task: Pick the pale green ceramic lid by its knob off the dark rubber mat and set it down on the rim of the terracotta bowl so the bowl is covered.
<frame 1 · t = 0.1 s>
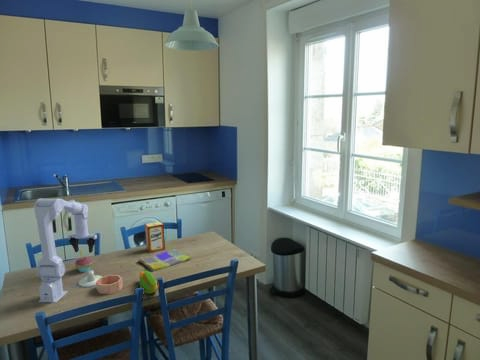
hand: (83, 251, 185), 10 cm above the table, fingers open, 7 cm apart
baking soda box: (155, 249, 215), on the table
lid: (91, 281, 173), resting on mat
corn: (147, 288, 167), on the table
bowl: (110, 288, 166), on the table
cupcake: (84, 271, 187), on the table
mat: (91, 282, 173), on the table
dish towel: (164, 262, 198), on the table
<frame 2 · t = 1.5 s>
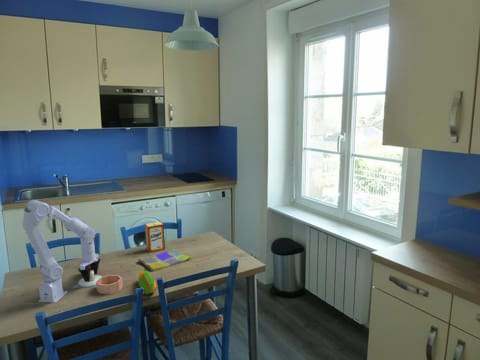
hand: (90, 277, 173), 3 cm above the table, fingers open, 7 cm apart
cupcake: (86, 263, 183), point 5 cm above the table, touching gripper
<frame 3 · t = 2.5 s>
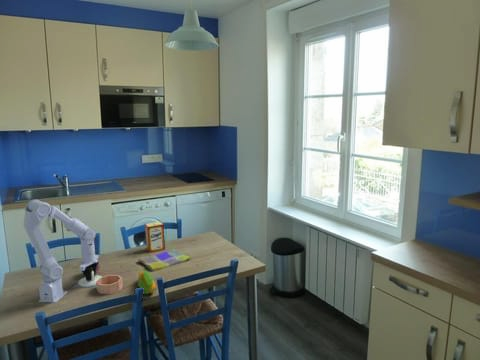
hand: (90, 278, 173), 2 cm above the table, fingers closed on lid, 3 cm apart
lid: (91, 281, 173), resting on mat, touching gripper
everything else where it was.
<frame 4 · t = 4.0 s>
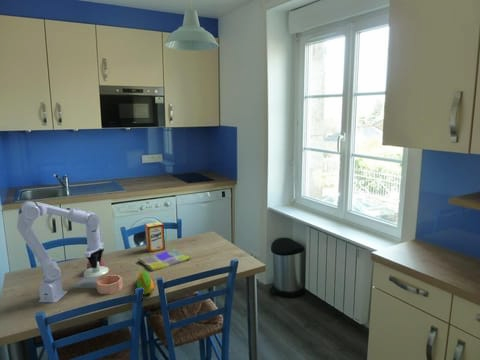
hand: (96, 265, 169), 9 cm above the table, fingers closed on lid, 3 cm apart
lid: (96, 272, 170), point 6 cm above the table, touching gripper
cupcake: (92, 265, 187), point 2 cm above the table
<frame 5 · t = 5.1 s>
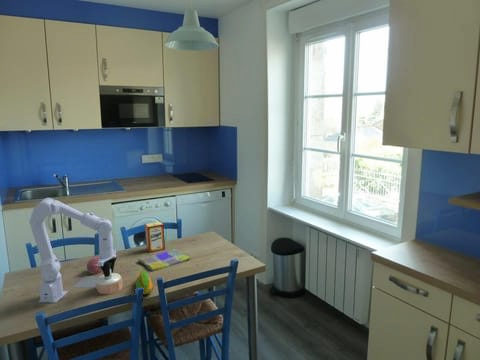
hand: (108, 274, 165), 7 cm above the table, fingers closed on lid, 3 cm apart
lid: (108, 279, 166), point 4 cm above the table, touching bowl, gripper
when the fingers open (7 cm above the table, at t = 5.7 s): lid stays where it is, resting on bowl.
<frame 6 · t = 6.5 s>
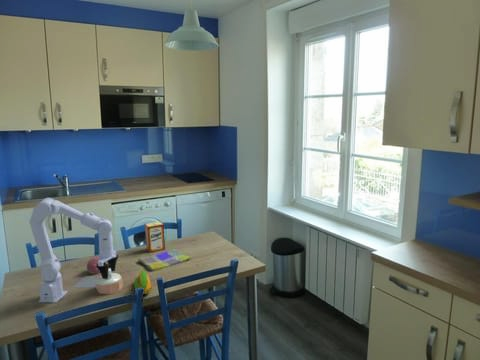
hand: (108, 274, 165), 7 cm above the table, fingers open, 7 cm apart
lid: (108, 279, 166), point 4 cm above the table, touching bowl
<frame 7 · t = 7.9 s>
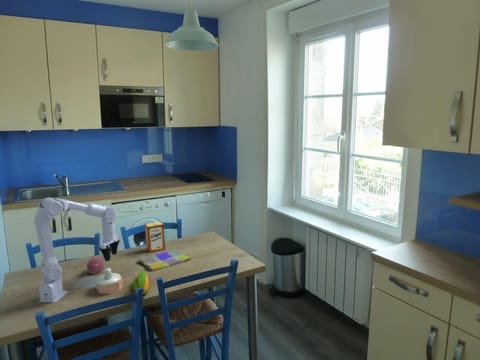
hand: (110, 257, 177), 10 cm above the table, fingers open, 7 cm apart
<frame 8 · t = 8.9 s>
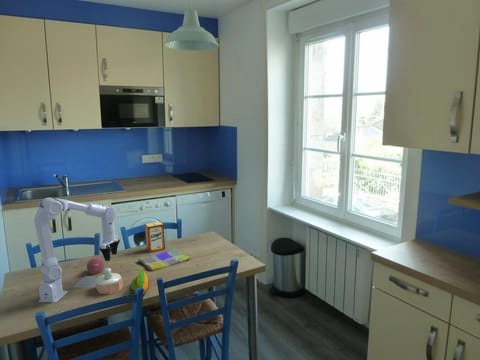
hand: (110, 257, 177), 10 cm above the table, fingers open, 7 cm apart
at the end: lid 0.5 cm off-centre on the bowl, point 4.5 cm above the bowl's base; lid tilted 0°; the gripper is holding nothing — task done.
